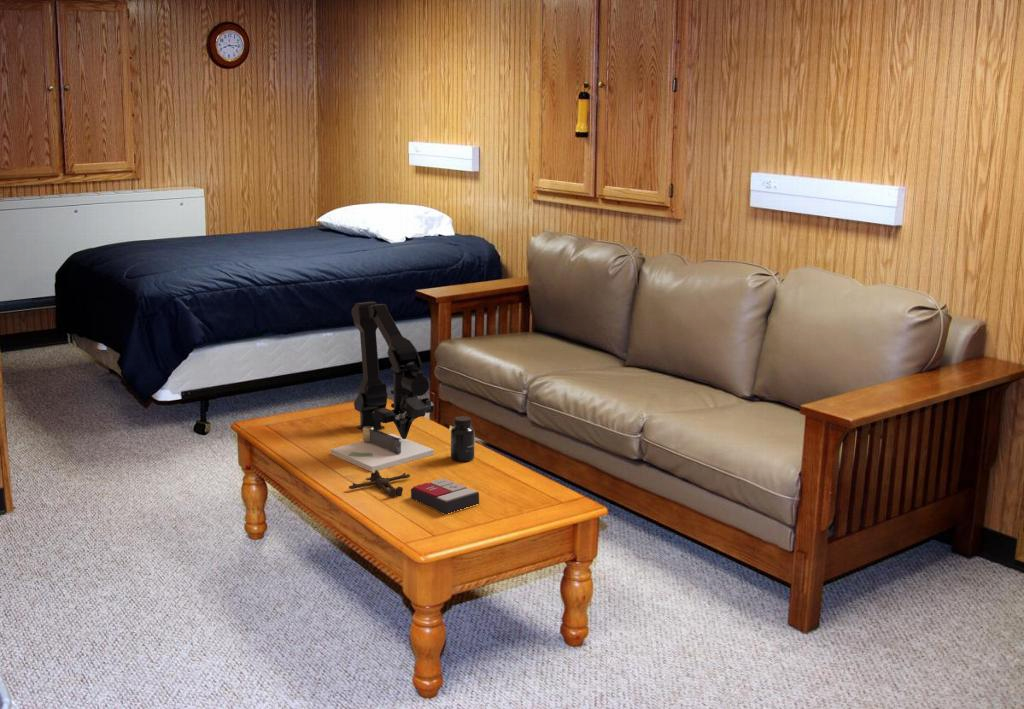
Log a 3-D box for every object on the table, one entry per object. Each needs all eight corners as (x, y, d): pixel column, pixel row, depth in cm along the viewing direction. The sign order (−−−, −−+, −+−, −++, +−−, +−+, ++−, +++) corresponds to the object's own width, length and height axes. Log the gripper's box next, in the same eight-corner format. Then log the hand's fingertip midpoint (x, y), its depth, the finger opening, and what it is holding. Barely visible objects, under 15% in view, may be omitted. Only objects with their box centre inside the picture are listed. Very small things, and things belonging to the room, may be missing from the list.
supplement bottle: (473, 462, 306) (474, 422, 303) (449, 462, 306) (449, 422, 303) (475, 454, 313) (475, 415, 310) (451, 454, 313) (451, 414, 310)
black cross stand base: (365, 494, 274) (341, 472, 286) (365, 509, 276) (341, 486, 287) (427, 481, 284) (402, 460, 295) (427, 496, 285) (401, 474, 297)
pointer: (360, 440, 318) (360, 427, 317) (369, 438, 320) (369, 425, 319) (395, 454, 306) (395, 441, 305) (404, 452, 309) (404, 438, 308)
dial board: (330, 454, 312) (330, 448, 311) (391, 438, 326) (391, 433, 326) (372, 472, 298) (372, 466, 297) (434, 454, 312) (433, 449, 312)
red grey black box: (443, 476, 286) (479, 489, 275) (444, 491, 287) (480, 505, 276) (409, 485, 279) (445, 499, 268) (410, 501, 280) (446, 516, 269)
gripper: (394, 399, 301) (395, 452, 305) (446, 387, 314) (446, 438, 317) (371, 391, 309) (371, 442, 313) (421, 379, 321) (422, 429, 325)
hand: (404, 438), depth 317 cm, fingers closed
